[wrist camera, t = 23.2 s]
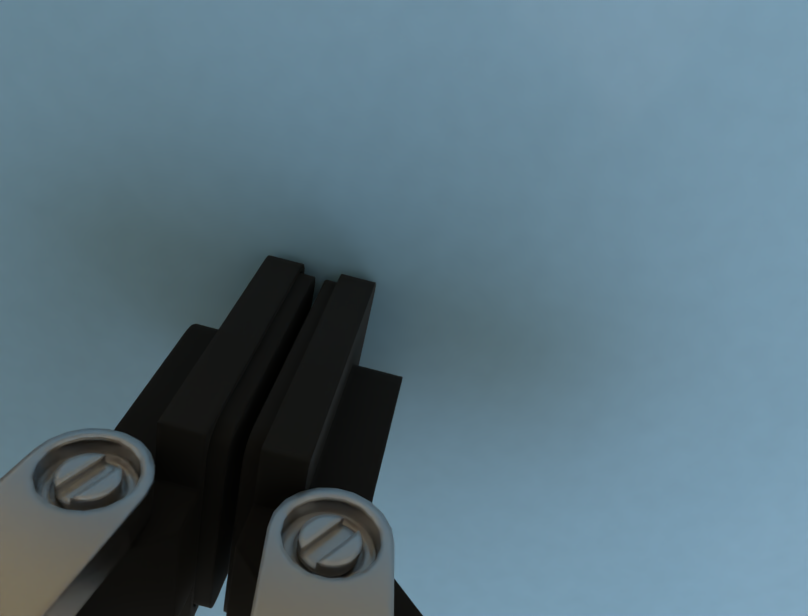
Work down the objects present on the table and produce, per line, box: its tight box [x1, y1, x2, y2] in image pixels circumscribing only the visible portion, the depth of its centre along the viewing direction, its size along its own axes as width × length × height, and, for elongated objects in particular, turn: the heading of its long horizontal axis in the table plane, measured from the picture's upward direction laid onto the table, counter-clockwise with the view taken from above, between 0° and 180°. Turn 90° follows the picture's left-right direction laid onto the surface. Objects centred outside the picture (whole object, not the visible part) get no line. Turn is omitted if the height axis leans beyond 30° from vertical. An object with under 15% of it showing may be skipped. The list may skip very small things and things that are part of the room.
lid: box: [0, 0, 808, 616], centre depth 12 cm, size 16×16×1 cm
